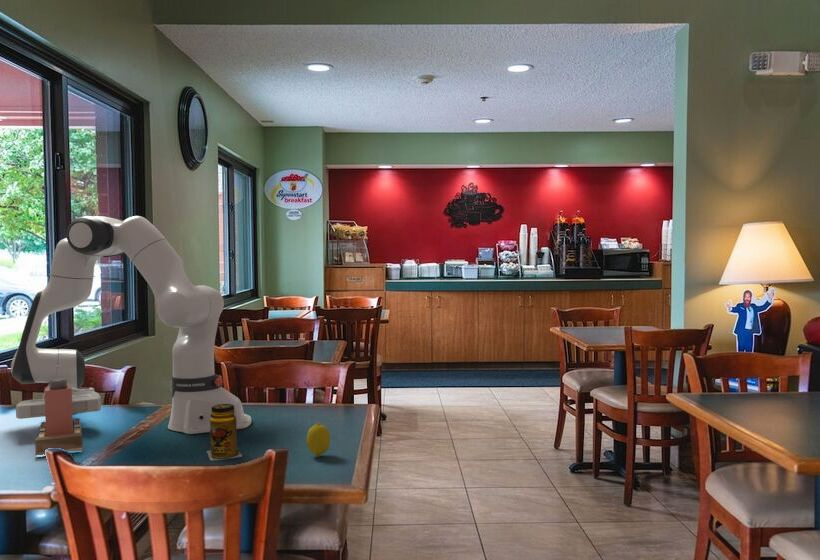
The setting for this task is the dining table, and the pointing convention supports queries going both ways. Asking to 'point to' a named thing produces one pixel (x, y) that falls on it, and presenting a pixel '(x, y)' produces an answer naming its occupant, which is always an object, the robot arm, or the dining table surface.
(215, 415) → the condiment
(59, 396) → the pink upright post
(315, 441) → the lemon
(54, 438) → the press base
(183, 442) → the dining table surface
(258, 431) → the dining table surface
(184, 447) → the dining table surface
